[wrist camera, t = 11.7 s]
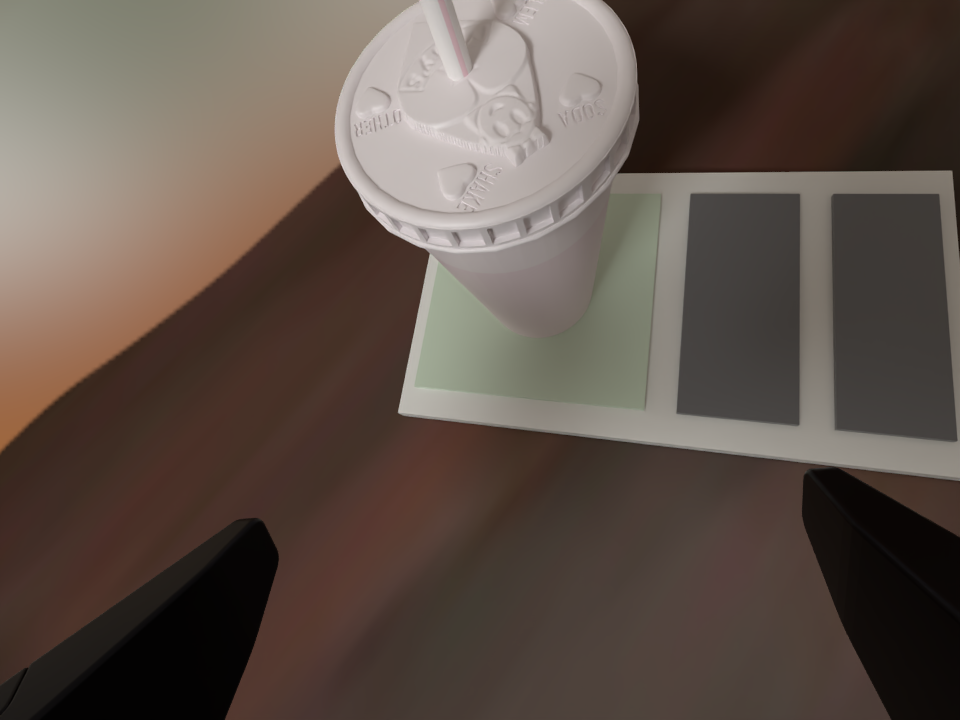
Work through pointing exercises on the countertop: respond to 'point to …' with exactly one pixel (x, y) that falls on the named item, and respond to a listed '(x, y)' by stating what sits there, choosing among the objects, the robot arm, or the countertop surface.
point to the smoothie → (496, 144)
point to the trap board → (732, 326)
